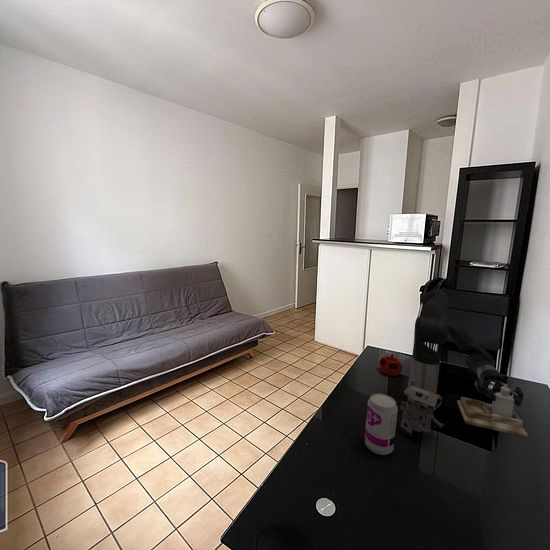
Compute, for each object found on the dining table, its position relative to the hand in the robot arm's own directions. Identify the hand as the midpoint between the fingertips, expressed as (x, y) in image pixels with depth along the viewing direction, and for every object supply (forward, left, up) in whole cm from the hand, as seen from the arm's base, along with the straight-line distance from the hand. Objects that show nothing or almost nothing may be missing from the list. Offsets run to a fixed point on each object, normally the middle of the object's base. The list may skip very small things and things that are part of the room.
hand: (506, 401), depth 97 cm
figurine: (-27, -18, -9) cm, 33 cm away
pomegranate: (-36, +22, -9) cm, 43 cm away
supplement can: (-39, -29, -9) cm, 49 cm away
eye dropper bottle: (0, +2, -8) cm, 8 cm away
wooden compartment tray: (-4, +1, -8) cm, 9 cm away
